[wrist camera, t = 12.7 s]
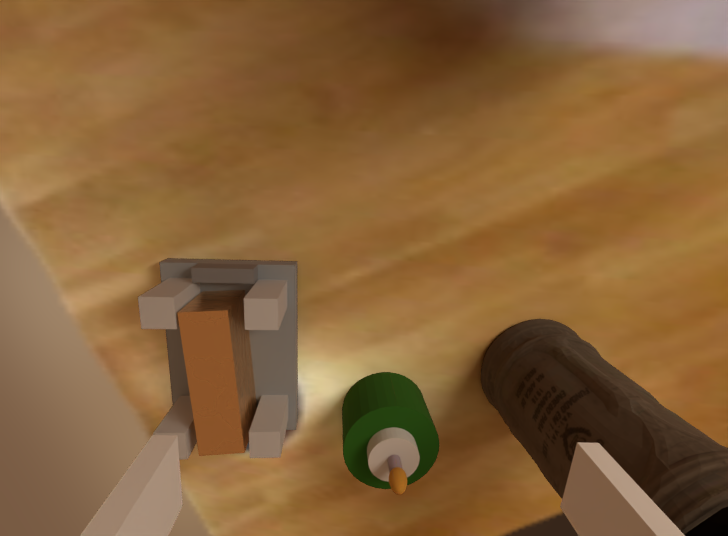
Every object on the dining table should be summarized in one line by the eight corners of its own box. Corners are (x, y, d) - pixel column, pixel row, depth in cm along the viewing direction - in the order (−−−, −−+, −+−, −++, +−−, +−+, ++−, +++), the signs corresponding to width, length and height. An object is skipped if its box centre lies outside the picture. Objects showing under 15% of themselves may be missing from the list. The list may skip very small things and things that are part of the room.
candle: (430, 374, 36) (465, 447, 26) (417, 446, 38) (445, 538, 28) (346, 369, 35) (350, 442, 25) (338, 442, 37) (338, 536, 27)
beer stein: (457, 401, 37) (614, 653, 18) (495, 304, 35) (724, 472, 15) (583, 425, 40) (833, 660, 21) (626, 337, 38) (951, 511, 18)
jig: (167, 258, 31) (125, 278, 25) (297, 261, 32) (287, 281, 26) (182, 420, 35) (148, 473, 29) (297, 419, 36) (289, 470, 30)
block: (202, 291, 31) (177, 312, 26) (244, 289, 31) (227, 310, 26) (219, 415, 34) (199, 455, 29) (257, 413, 34) (244, 452, 29)
